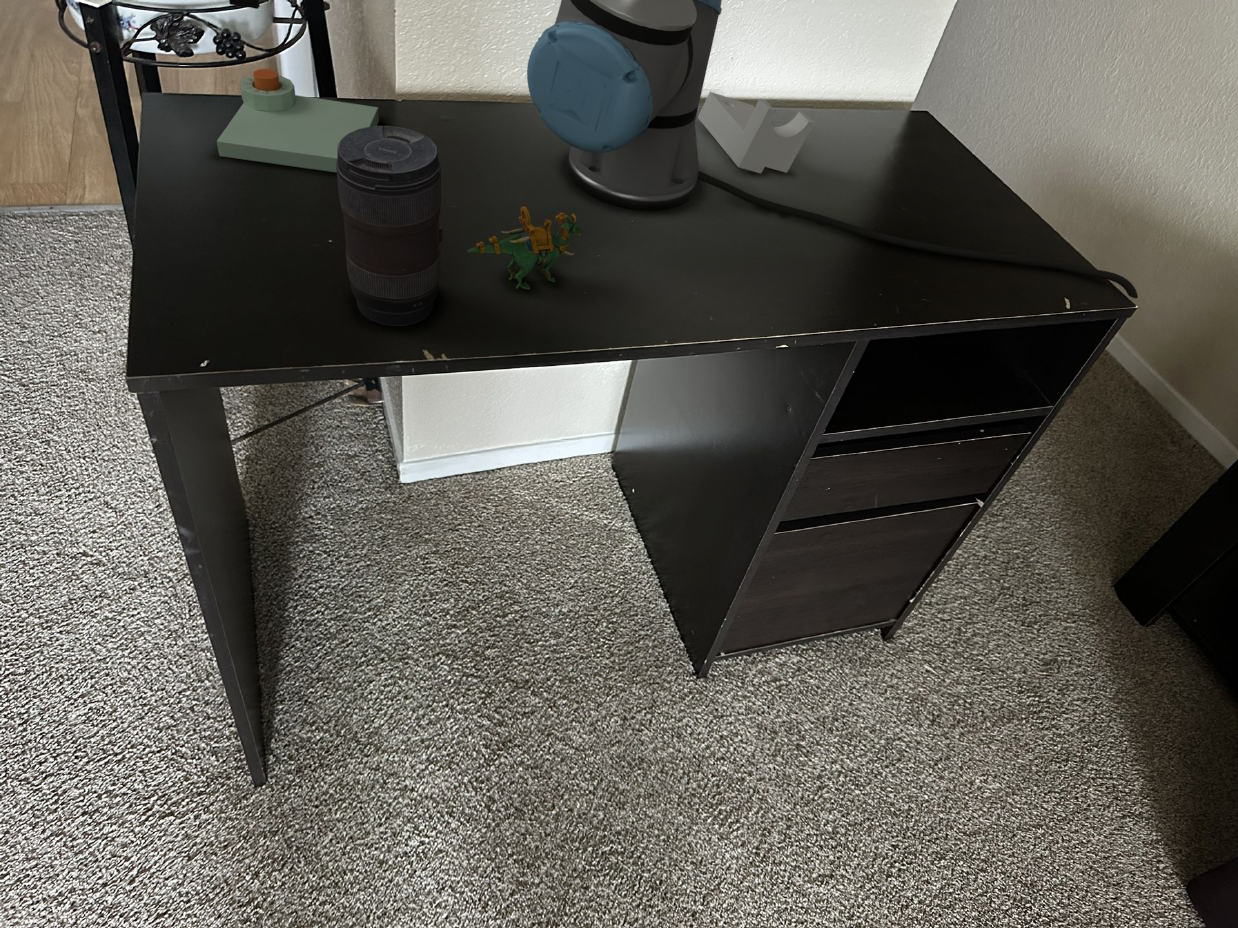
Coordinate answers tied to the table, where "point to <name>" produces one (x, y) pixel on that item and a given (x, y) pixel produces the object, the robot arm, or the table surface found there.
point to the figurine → (532, 245)
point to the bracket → (754, 133)
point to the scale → (291, 127)
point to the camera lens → (391, 221)
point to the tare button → (266, 80)
